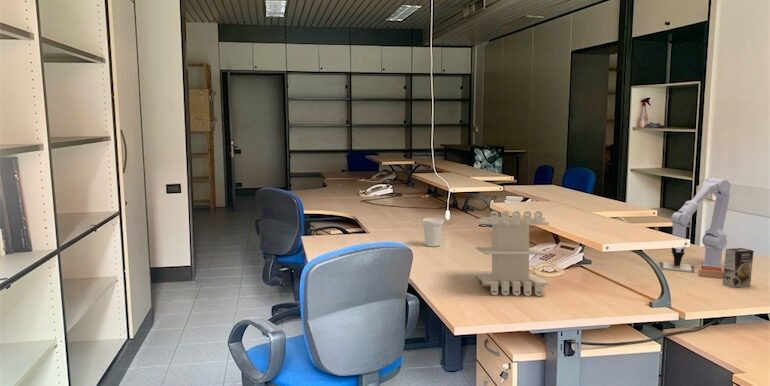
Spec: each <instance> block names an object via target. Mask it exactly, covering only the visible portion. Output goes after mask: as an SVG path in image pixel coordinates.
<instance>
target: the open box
mask: <svg viewBox="0 0 770 386" xmlns="http://www.w3.org/2000/svg"><path fill="white" fill-rule="evenodd" d="M697 268H698V270H697V272H698V276H699V278H700V277H702V278H710V279H717V280H718V279H719V280H723V274H724V266H722V267H715V266H705V265H703V264H698V267H697Z"/></svg>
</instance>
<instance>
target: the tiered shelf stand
mask: <svg viewBox="0 0 770 386" xmlns="http://www.w3.org/2000/svg"><path fill="white" fill-rule="evenodd" d="M500 214H501V216H499V212H498V211H497V210H492V211H491V212H490V216H486V217H485V216H482V217H481V218H477V220H476V224H480V225H491V247H490V246H488V247H487V246H476V247H475V248H476V249H475V250H477V251H478V252H481V253H482V254H484V255H491V273H475V277H476V278H477V280H478V281H481V287H490V293H491V295H493V296H497V295H498V294H499V287H500V290H501V291H500V292H501V295H503V296H509V294H510V287H512V289H511V291H512V295H514V296H516V297H517V296H520V295H521V287H522V290H523V292H522V293H523V294H524V295H525V296H526V297H530V296H531V295H532V288H533V289H534V291H533V293H534V295H536V296H537V297H541V296H542V295H543V288H545V287H546V286H549V285H550V282H549V281H548V280H545V279H543V278H542V277H540V276H538V275H535V274H532V273H530V255H532V256H533V255H534V256H535V255H536V256H538V255H539V256H543V255H544V256H547V255H548V256H549V255H550V252H548V251H545V250H542V249H538V248H534V247H530V226H531V225H534V226H535V225H536V226H542V225H543V226H549V225H550V222H546V221H545V219H546V218H545V217H543V213H542V212H541V211H540V210H539V211H538V210H537V211H535V212H534V215H533V217H532V212H531V211H530V210H526V211H525V210H524V212H523V214H522V217H521V212H520V211H519V210H514V211H513V212H512V213H511V215H512V216H510V212H509V211H508V210H502V211H501V213H500Z"/></svg>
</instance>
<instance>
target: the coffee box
mask: <svg viewBox="0 0 770 386" xmlns="http://www.w3.org/2000/svg"><path fill="white" fill-rule="evenodd" d="M754 251H755V250H752V249H748V248H743V247H737V248H736V247H735V248H733V247H732V248H725V252H724V253H725V255H724V256H725V257H724V265H723V269H724V274H723V279H722V285H725V286H728V287H730V286H731V287H730V288H733V287H734V288H736V289H737V288H748V287H751V281H752V272H753V262H754V261H753V260H754V253H755V252H754ZM747 286H748V287H747ZM734 288H733V289H734Z"/></svg>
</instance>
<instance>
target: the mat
mask: <svg viewBox="0 0 770 386" xmlns="http://www.w3.org/2000/svg"><path fill="white" fill-rule="evenodd" d="M660 268H661V270H660V271H671V272H678V273H679V272H681V273H688V274H696V271H695V267H694V265H691V272H687V271H678V270H668V269H663V262H661V261H660V262H659V269H660Z"/></svg>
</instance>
